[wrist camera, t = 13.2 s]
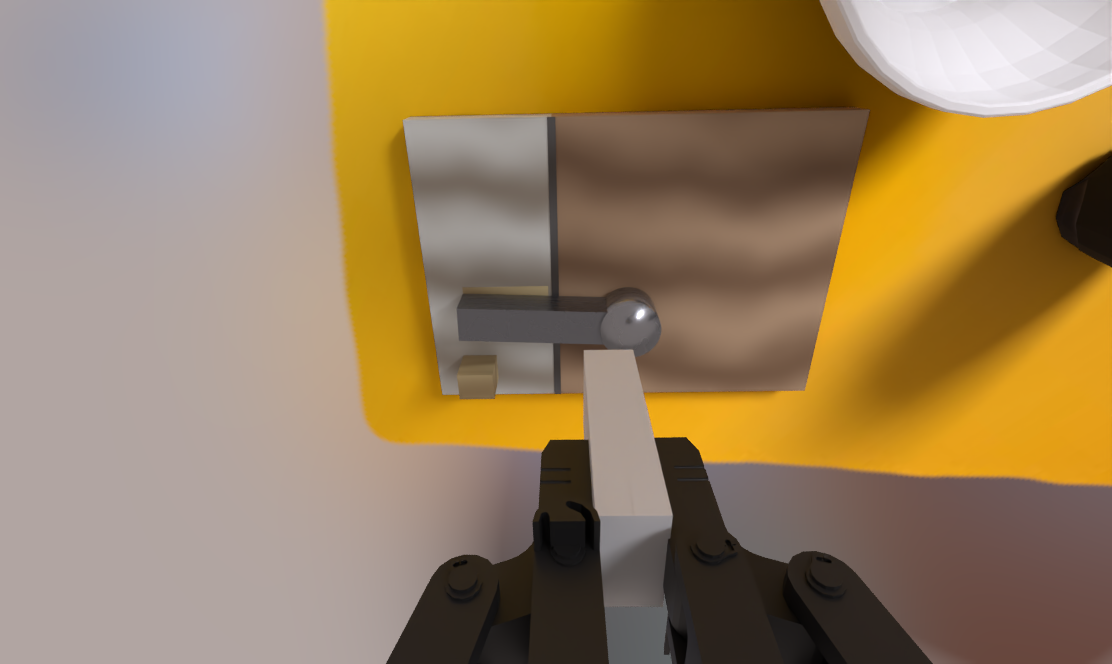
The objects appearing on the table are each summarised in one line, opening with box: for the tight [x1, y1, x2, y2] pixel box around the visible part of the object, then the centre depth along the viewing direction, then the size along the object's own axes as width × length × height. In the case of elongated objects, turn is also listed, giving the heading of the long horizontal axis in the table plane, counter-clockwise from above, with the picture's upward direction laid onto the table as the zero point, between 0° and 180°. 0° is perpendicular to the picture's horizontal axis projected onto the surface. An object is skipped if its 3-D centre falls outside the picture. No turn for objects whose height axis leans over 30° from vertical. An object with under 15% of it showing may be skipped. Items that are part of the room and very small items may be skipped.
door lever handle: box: [457, 287, 661, 357], centre depth 36 cm, size 14×4×3 cm, turn 89°
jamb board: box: [403, 107, 870, 399], centre depth 36 cm, size 20×28×5 cm
